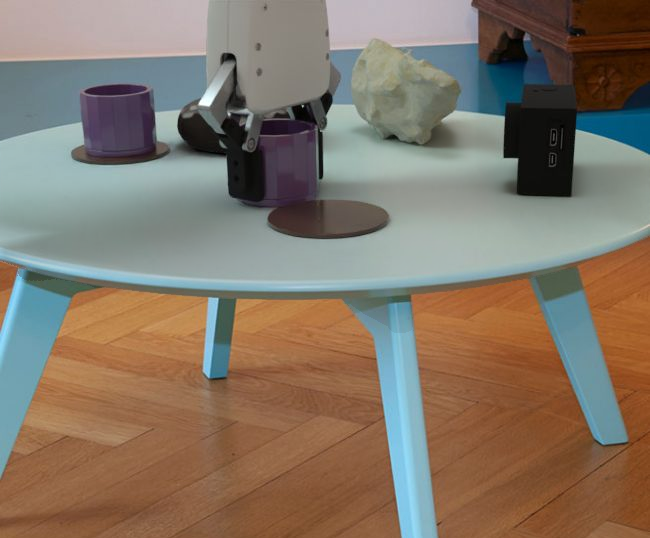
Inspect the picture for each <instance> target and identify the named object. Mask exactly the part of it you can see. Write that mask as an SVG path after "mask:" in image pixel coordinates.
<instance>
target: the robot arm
mask: <svg viewBox="0 0 650 538" xmlns="http://www.w3.org/2000/svg"><path fill="white" fill-rule="evenodd" d="M328 17H329V16H328V8H327V0H208V8H207V19H206V39H205V40H206V43H205V44H206V45H205V46H206V47H205V49H206V50H205V51H206V53H205V59H206V60H205V65H206V66H205V70H206V72H205V73H206V90H205V91H204V93H203V94H202V97H201V100H200V102H199V104H198V111H199V113H200V114H201V116H202V117H203V118H204V119H205V121H206V122H207V123H208V124H209V125H210V128H211V130H212V132H213V133H214V134H215V135H216V136H217V137H218V138H219V143H220V145H221V147H223V148H226V153H225V154H226V155H225V157H226V172H227V173H226V174H227V175H226V176H227V192H228V196H229V197H230V198H231V199H232V198H233V199H236V200H238V199H242V200H247V201H252V202H259V201H262V200H263V199H264V171H263V153H262V150H258V149H256V146H257V142H258V138H259V134H260V130H261V126H262V122H263V119H264V115H265V113H270V112H274V111H277V110H281V109H285V108H287V110H288V112H289V115H290V118H291V119H298V120H305V121H309V122H313V123H315V124H316V125H317V126H318V157H319V181H320V180H323V179H324V135H323V134H324V133H323V131H325V130H326V129H327V127H328V117H327V116H328V113H329V111H330V109H331V107H332V105H333V102H334V98H333V97H334V96H335V94H336V92H337V89H338V87H339V85H340V82H341V79H342V76H341V73H340V71H339V70H338V68H337V67H336V66H335V65H334V63H333V62H332V61H331V44H330V42H331V41H330V27H329V18H328ZM245 104H246V107H242V105H245ZM226 109H227V111H226ZM241 117H244V118H247V122H246V126H245V130H243V129H242V127H241V126H240V125H239V123H240V119H241Z"/></svg>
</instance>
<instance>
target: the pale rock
mask: <svg viewBox="0 0 650 538" xmlns="http://www.w3.org/2000/svg"><path fill="white" fill-rule="evenodd" d="M403 51H407V52H403ZM413 52H414V50H412V49H411V48H410V49H409V48H407V47H405V46H403V45H402V47H401V50H400V49H399V48H396V47H394V46H392V45H391V44H390V43H388V42H387V41H384V40H382V39H379V38H376V37H373V38H371V39H370V40H369V42H368V43H367V45H366V46H365V47H364V49H363V50H362V51H361V53H360V54H359V56H358V57H357V59H356V62H355V64H354V65H353V69H352V73H351V80H350V93H351V96H352V97H351V99H352V102H353V105H354V107H355V109H356V112H357V114H358V115H359V117H360V118H361V119H362V120H364V121H365V122H366V123H367V124H368V125H370V126H371V127H373V128H374V129H375V130H376V133H377V134H378V135H379V136H380V139H384V140H385V139H388V138H389V137H390V136H392V135H394V136H396V137H397V138H398V140H399V141H401V142H406V143H408V144H412V143H413V142H416V143H417V144H419V145H425V144H426V143H427V142H428V141H429V140H430V139H431V138H432V129H433V128H435V127H436V126H438V125H439V126H440V124H441V122H442V121H443V119H445V118H447V117H448V116H449V115H451V114H453V113H454V112H455V110H456V109H457V106H458V104H457V102H458V99H459V96H460V95H461V93H462V89H461V86H460V83H459V81H458V79H456V78H454V77H453V76H452V75H450V73H448V72H445V71H444V70H442V69H438V68H436V67H435V66H434V65H433V64H432V63H431V62H429V61H428V60H426V58H422V59H420V60H419V59H418V60H417V59H416V58H414V57H413V56H412V53H413Z"/></svg>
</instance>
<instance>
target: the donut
mask: <svg viewBox="0 0 650 538" xmlns="http://www.w3.org/2000/svg"><path fill="white" fill-rule="evenodd" d="M201 98H202V97H201ZM201 98H196V99H194V100H192V101H190V102H189V103H187V104H186V105H184V106H183V107H182V108H181V110H180V111H179V115H178V116H177V123H176V124H177V125H176V128H177V131H178V134H179V136H180V138H181V139H182V140H183V141H184V142H185V143H187V145H188V146H190V147H192V148H194V149H197V150H201V151H202V152H203V151H204V152H210V153H216V154H217V153H218V154H226V148H223V147H221V145H220V143H219V138H218V137H217V136H216V135H215V134H214V133H213V132H212V130H211V128H210V125H209V124H208V123H207V122H206V121H205V119H204V118H203V117H202V116H201V114H200V113H199V111H198V104H199V102H200V100H201ZM242 107H246V104H245V105H242ZM226 111H227V109H226ZM264 119H291V118H290V115H289V112H288V110H287V108H285V109H281V110H277V111H274V112H270V113H265V115H264ZM243 122H247V118H244V117H241V119H240V123H239V124H241V123H243Z"/></svg>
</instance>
